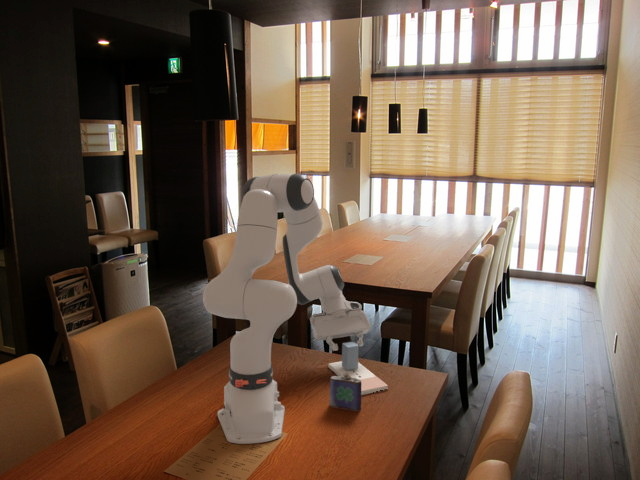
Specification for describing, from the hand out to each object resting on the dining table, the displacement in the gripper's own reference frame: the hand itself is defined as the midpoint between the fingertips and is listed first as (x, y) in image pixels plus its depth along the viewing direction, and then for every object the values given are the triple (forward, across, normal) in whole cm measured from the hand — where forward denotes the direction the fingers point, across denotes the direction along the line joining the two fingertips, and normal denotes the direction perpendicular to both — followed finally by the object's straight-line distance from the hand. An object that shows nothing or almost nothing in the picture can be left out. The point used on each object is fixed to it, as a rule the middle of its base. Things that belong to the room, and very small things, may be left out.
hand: (348, 347), depth 177 cm
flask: (+21, -12, -9) cm, 26 cm away
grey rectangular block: (+5, 0, +4) cm, 6 cm away
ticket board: (+10, 0, +1) cm, 10 cm away
